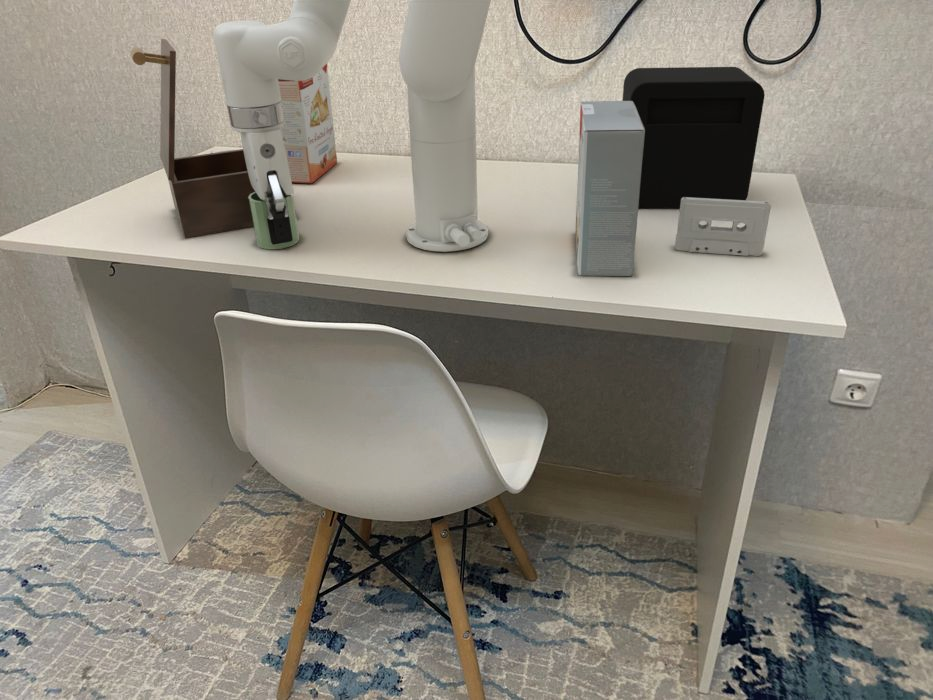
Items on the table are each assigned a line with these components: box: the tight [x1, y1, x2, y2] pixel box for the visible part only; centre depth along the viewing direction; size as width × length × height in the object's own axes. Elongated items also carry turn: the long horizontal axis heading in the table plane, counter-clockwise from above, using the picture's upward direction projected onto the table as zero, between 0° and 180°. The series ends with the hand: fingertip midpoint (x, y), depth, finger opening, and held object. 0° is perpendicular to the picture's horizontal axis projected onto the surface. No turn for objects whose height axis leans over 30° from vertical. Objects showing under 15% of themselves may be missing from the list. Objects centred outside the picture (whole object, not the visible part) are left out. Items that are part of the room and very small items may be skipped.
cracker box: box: [278, 63, 338, 184], centre depth 140 cm, size 14×6×21 cm, turn 168°
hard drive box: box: [575, 100, 645, 277], centre depth 101 cm, size 16×8×20 cm, turn 174°
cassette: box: [674, 197, 772, 257], centre depth 104 cm, size 12×2×8 cm, turn 75°
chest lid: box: [130, 38, 177, 181], centre depth 113 cm, size 19×15×5 cm
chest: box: [167, 148, 255, 239], centre depth 124 cm, size 18×15×9 cm
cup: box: [248, 191, 300, 250], centre depth 113 cm, size 6×6×8 cm
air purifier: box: [621, 66, 765, 209], centre depth 123 cm, size 20×15×20 cm
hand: (276, 233), depth 114 cm, fingers closed on cup, 6 cm apart
